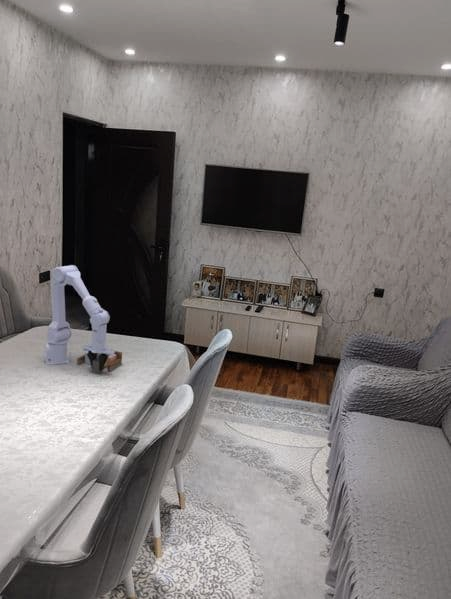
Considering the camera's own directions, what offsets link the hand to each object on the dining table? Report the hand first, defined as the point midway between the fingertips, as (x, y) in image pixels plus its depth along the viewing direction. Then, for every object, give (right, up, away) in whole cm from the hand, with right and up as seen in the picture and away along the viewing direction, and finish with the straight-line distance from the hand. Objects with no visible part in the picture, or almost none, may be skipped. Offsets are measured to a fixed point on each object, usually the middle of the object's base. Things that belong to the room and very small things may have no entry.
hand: (97, 368), depth 200 cm
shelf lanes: (-2, +1, +8) cm, 8 cm away
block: (-5, +1, +10) cm, 11 cm away
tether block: (+1, -1, +5) cm, 5 cm away
